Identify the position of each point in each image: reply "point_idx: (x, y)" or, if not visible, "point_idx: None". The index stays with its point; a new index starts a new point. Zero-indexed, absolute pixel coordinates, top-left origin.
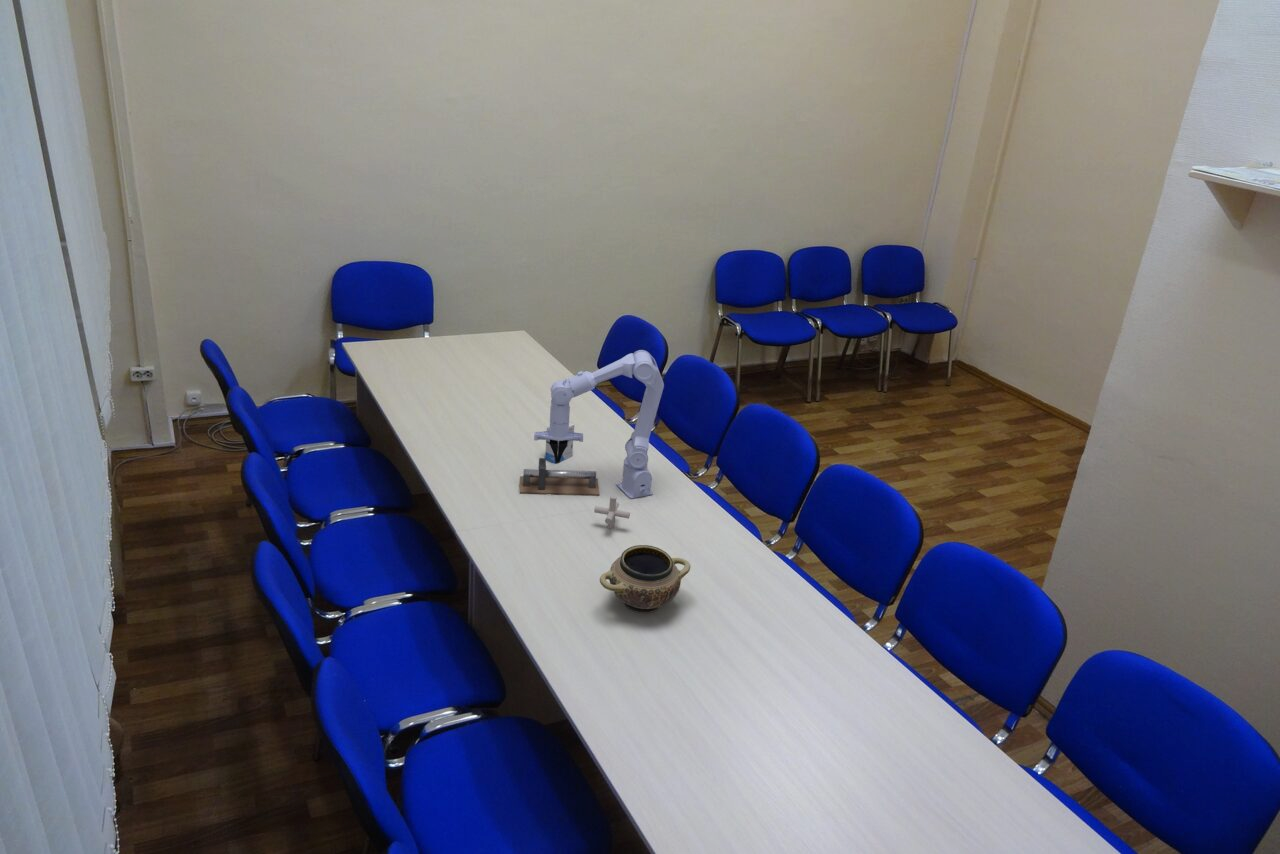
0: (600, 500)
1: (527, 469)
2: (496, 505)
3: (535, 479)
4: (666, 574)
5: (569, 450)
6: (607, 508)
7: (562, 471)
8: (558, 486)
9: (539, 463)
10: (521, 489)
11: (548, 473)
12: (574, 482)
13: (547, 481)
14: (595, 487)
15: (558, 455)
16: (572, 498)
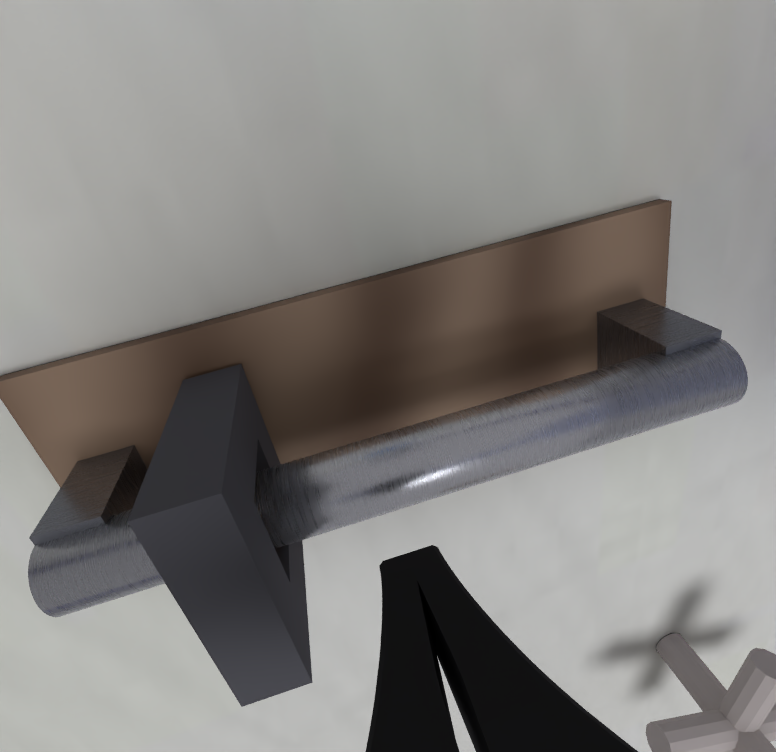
0: (650, 462)
1: (79, 590)
2: (65, 723)
3: (164, 391)
4: None
5: None
6: (727, 745)
7: (442, 489)
8: (383, 430)
9: (198, 629)
10: None
11: (311, 535)
12: (493, 331)
13: (277, 388)
14: None
15: (467, 728)
16: (490, 501)
